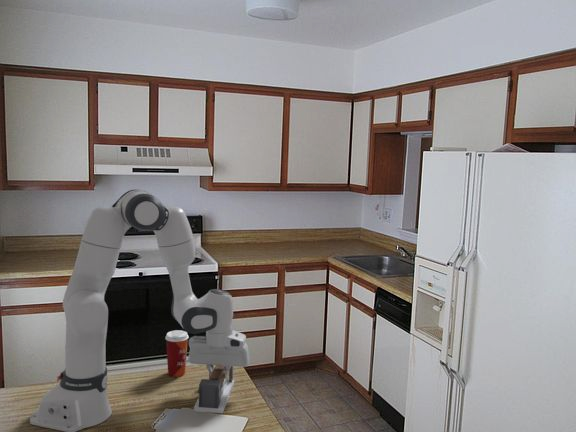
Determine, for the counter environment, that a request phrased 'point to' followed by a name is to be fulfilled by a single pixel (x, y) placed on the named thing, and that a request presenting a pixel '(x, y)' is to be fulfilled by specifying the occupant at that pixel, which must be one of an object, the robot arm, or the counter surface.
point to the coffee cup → (176, 352)
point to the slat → (218, 373)
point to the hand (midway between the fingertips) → (218, 376)
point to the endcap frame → (214, 394)
